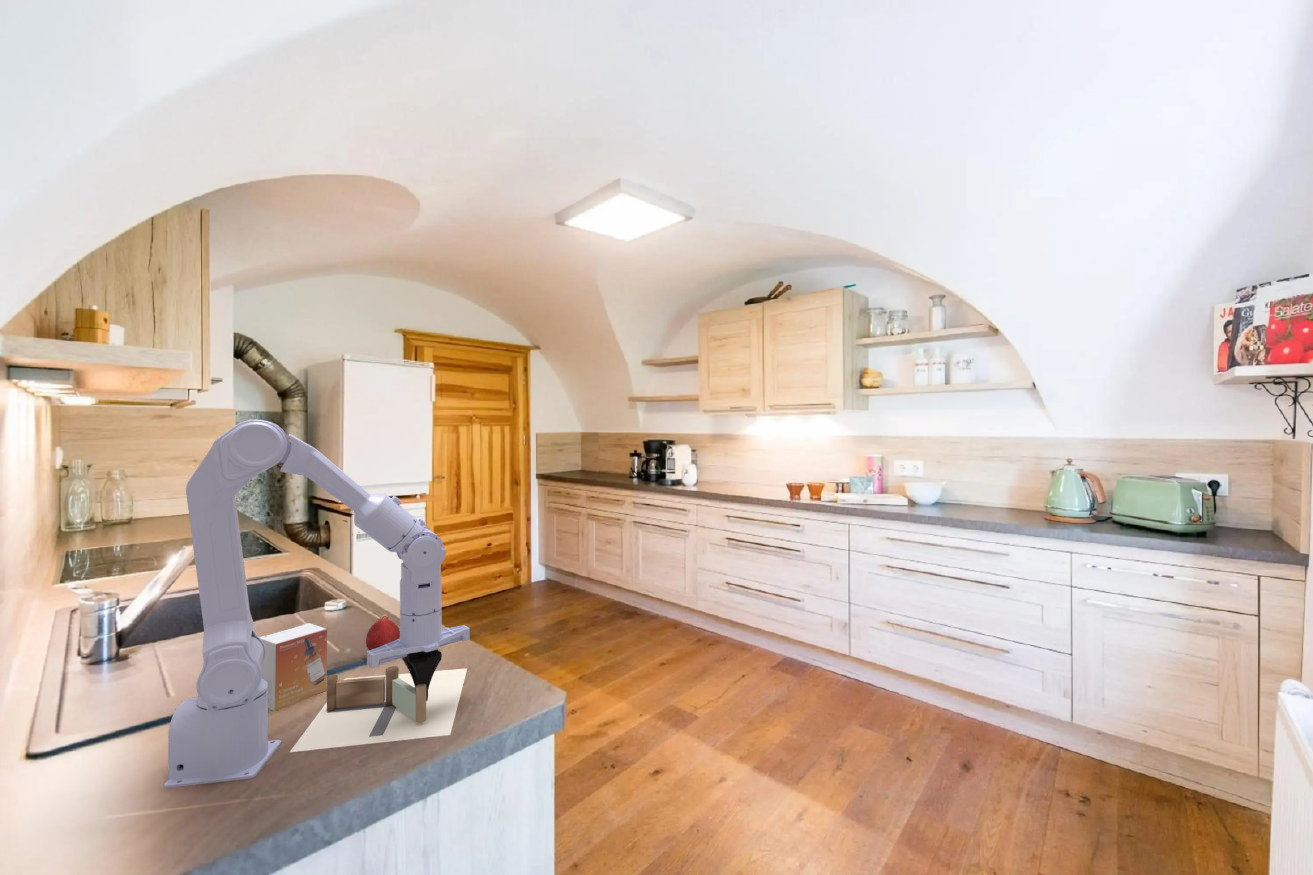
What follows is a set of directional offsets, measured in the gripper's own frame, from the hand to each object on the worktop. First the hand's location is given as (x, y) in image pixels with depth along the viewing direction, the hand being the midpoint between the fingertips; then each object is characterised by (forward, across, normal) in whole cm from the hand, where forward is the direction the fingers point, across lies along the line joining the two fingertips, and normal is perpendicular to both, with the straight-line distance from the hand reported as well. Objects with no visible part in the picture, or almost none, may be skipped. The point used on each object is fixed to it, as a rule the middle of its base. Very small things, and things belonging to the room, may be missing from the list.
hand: (421, 699), depth 82 cm
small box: (+3, -12, +20) cm, 24 cm away
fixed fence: (+2, -5, +9) cm, 10 cm away
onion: (+3, +4, +26) cm, 27 cm away
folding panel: (+2, -1, +1) cm, 2 cm away
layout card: (+2, -2, +6) cm, 7 cm away
